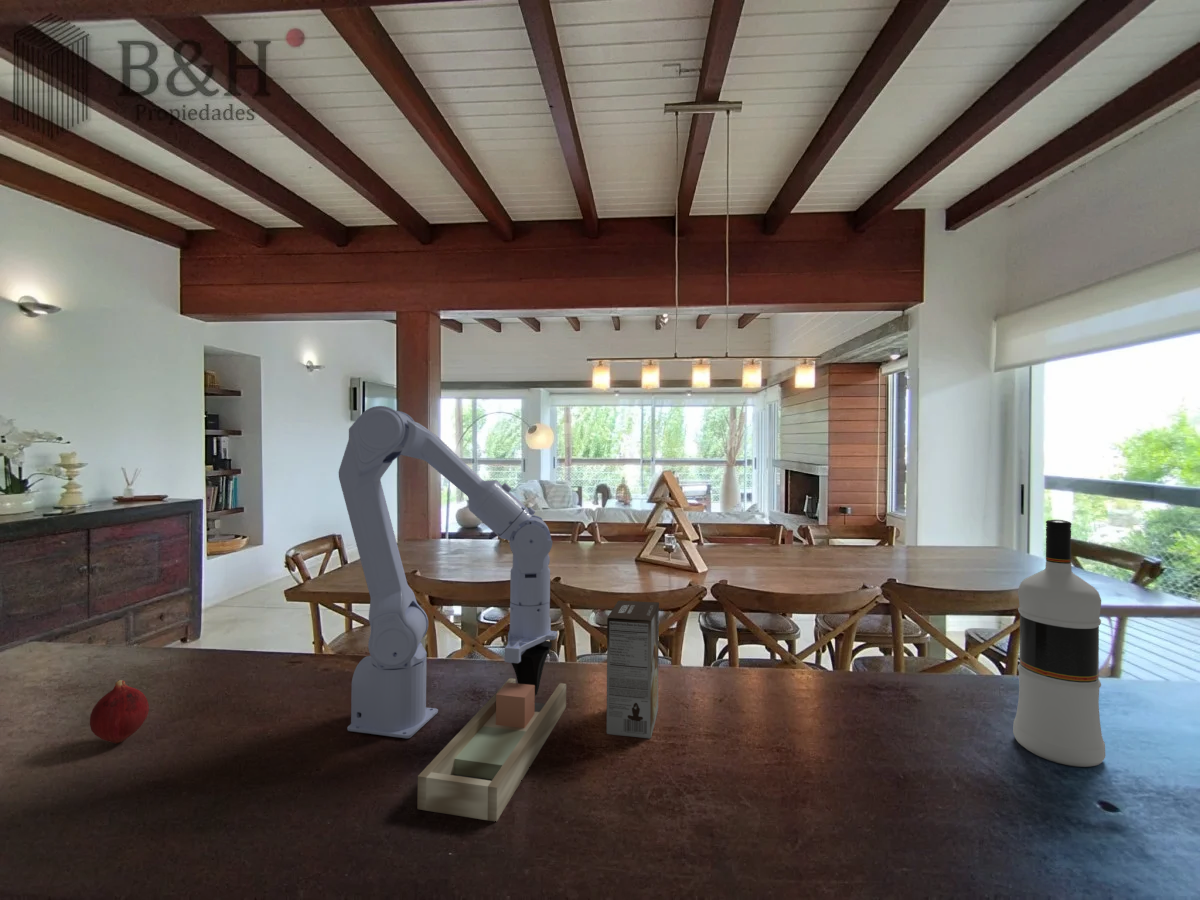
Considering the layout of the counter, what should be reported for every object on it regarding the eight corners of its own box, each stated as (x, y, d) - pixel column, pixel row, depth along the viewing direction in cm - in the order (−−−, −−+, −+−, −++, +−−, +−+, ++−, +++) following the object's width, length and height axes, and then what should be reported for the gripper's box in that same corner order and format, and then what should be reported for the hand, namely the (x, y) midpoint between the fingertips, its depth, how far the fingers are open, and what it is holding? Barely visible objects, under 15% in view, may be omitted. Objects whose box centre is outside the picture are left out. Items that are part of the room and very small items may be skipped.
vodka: (996, 737, 75) (997, 516, 76) (1045, 728, 78) (1046, 515, 78) (1071, 776, 67) (1072, 525, 67) (1124, 764, 69) (1125, 523, 69)
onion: (157, 737, 73) (158, 676, 73) (104, 759, 68) (105, 693, 68) (133, 727, 76) (134, 669, 76) (79, 748, 71) (80, 685, 71)
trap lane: (417, 809, 59) (417, 776, 59) (509, 701, 85) (509, 678, 85) (496, 821, 57) (496, 787, 57) (566, 707, 83) (566, 683, 83)
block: (495, 724, 74) (496, 694, 74) (507, 711, 78) (507, 682, 78) (524, 728, 73) (524, 697, 73) (534, 714, 77) (534, 685, 77)
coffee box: (616, 705, 84) (617, 598, 84) (659, 709, 83) (659, 601, 83) (605, 735, 75) (606, 616, 75) (652, 740, 74) (653, 619, 74)
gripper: (540, 617, 73) (539, 721, 73) (569, 590, 87) (568, 677, 87) (490, 613, 74) (489, 715, 74) (526, 587, 88) (525, 673, 88)
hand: (529, 694), depth 80 cm, fingers closed
